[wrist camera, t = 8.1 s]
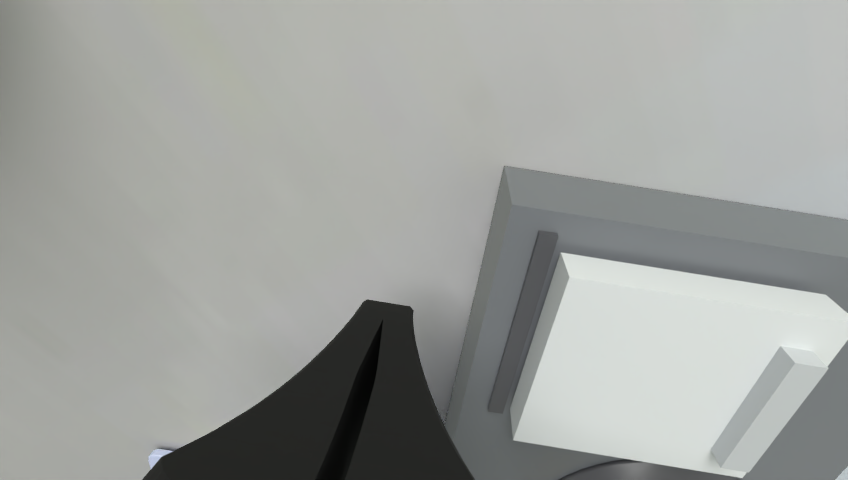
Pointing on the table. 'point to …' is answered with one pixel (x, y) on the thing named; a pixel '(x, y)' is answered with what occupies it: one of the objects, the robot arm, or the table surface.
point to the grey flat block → (649, 246)
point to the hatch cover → (670, 364)
